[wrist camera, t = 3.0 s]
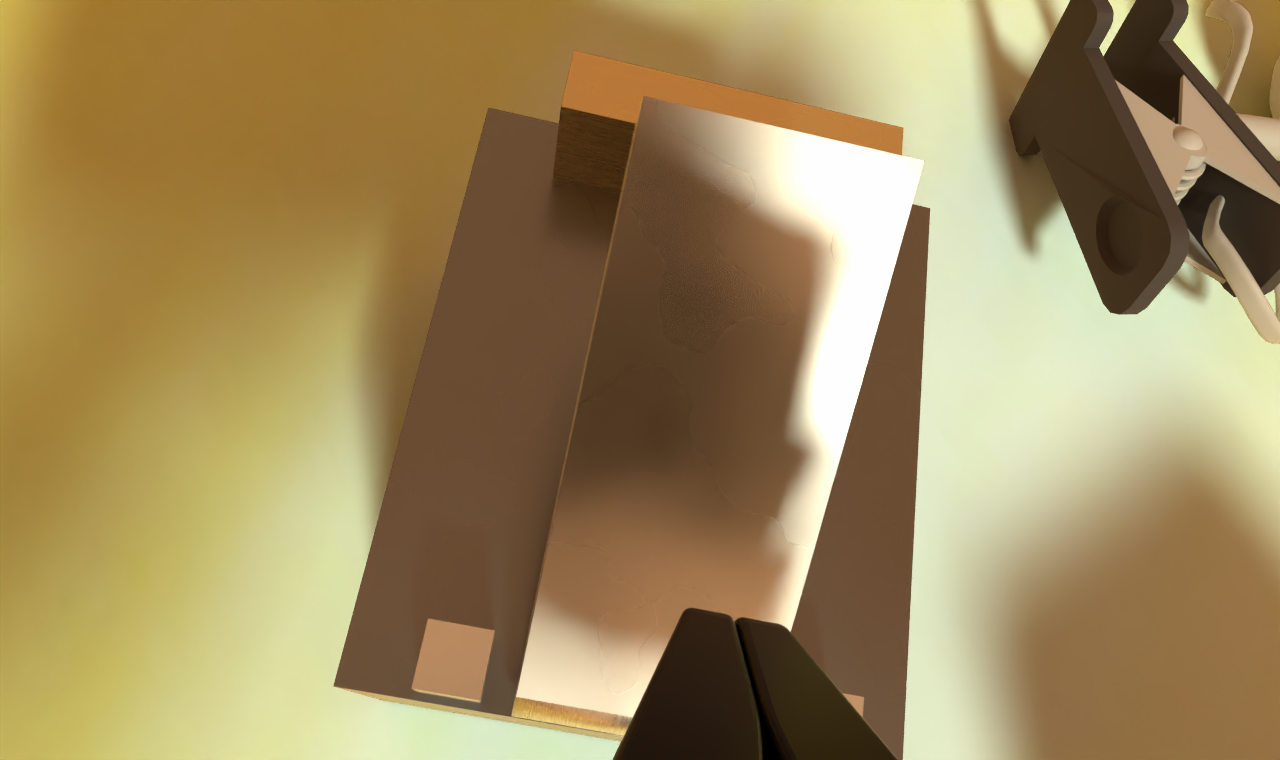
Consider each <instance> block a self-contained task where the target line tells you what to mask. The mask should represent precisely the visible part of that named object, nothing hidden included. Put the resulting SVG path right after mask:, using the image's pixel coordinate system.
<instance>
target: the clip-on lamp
mask: <svg viewBox="0 0 1280 760" xmlns="http://www.w3.org/2000/svg"><path fill="white" fill-rule="evenodd" d="M1205 14H1206V16H1207V17H1211V18H1216V19H1219V20H1221V21H1224V22H1226V24H1227V25H1228V26H1229V27H1230V28H1231V29H1232V35H1233V44H1232V48H1231V53H1230V57H1229V60H1228V62H1227V65H1226V68H1225V70H1224V73H1223V75H1222V78H1221V81H1220V83H1219V86H1218V88H1217V91H1216V90H1215V89H1214V88H1213V86H1212V85H1211V84H1210V83H1209V82H1208V81H1207V79H1206V78H1205V77H1204V76H1203V75H1202V74H1201V73H1200V71H1199V70H1198V69H1197V68H1196V67H1195V66H1194V64H1193V63H1192V62H1191V61H1190V60H1189V59H1188V58H1187V56H1186V55H1185V54H1184V53H1183V52H1182V51H1181V49H1180V48H1179V47H1178V46H1177V45H1176V44H1175V43H1174V41H1173V39H1174V38H1175V36H1176V35H1177V33H1178V32H1179V30H1180V28H1181V27H1182V25H1183V24H1184V22H1185V20H1186V18H1187V15H1188V4H1187V1H1186V0H1136V2H1135V3H1134V5H1133V7H1132V8H1131V10H1130V12H1129V14H1128V15H1127V17H1126V19H1125V21H1124V22H1123V24H1122V26H1121V27H1120V29H1119V31H1118V33H1117V34H1116V36H1115V38H1114V39H1113V41H1112V43H1111V45H1110V46H1109V48H1108V50H1107V51H1106V53H1105V55H1104V57H1103V55H1102V53H1101V51H1100V49H1099V47H1100V45H1101V43H1102V42H1103V40H1104V38H1105V36H1106V35H1107V33H1108V31H1109V29H1110V27H1111V24H1112V22H1113V9H1112V6H1111V5H1110V3H1109V1H1108V0H1070V2H1069V4H1068V6H1067V8H1066V10H1065V12H1064V14H1063V16H1062V18H1061V20H1060V22H1059V23H1058V25H1057V27H1056V29H1055V31H1054V33H1053V35H1052V37H1051V39H1050V41H1049V43H1048V45H1047V47H1046V49H1045V51H1044V53H1043V54H1042V56H1041V58H1040V60H1039V62H1038V64H1037V66H1036V68H1035V70H1034V72H1033V74H1032V76H1031V78H1030V80H1029V82H1028V84H1027V85H1026V87H1025V89H1024V91H1023V93H1022V95H1021V97H1020V99H1019V101H1018V103H1017V105H1016V107H1015V109H1014V111H1013V113H1012V115H1011V116H1010V119H1009V122H1010V126H1011V130H1012V135H1013V139H1014V143H1015V147H1016V151H1017V152H1018V153H1019V155H1034V154H1038V153H1039V151H1040V150H1041V152H1042V154H1043V157H1044V159H1045V161H1046V164H1047V166H1048V169H1049V171H1050V174H1051V176H1052V179H1053V181H1054V184H1055V186H1056V189H1057V191H1058V194H1059V196H1060V198H1061V201H1062V203H1063V206H1064V208H1065V211H1066V213H1067V216H1068V218H1069V221H1070V223H1071V226H1072V228H1073V231H1074V233H1075V235H1076V238H1077V240H1078V243H1079V245H1080V248H1081V250H1082V253H1083V255H1084V258H1085V260H1086V263H1087V265H1088V267H1089V270H1090V272H1091V275H1092V277H1093V280H1094V282H1095V285H1096V287H1097V290H1098V292H1099V295H1100V297H1101V300H1102V302H1103V304H1104V305H1105V306H1106V308H1107V309H1108V310H1109V311H1110V313H1115V314H1138V313H1139V312H1141V311H1142V310H1144V309H1145V308H1147V307H1148V305H1149V304H1150V303H1151V302H1152V301H1153V300H1154V298H1155V297H1156V296H1157V295H1158V294H1159V293H1160V291H1161V290H1162V289H1163V288H1164V287H1165V285H1166V284H1167V283H1168V282H1169V281H1170V280H1171V278H1172V277H1173V276H1174V275H1175V274H1176V273H1177V271H1178V270H1179V269H1180V268H1181V266H1182V264H1183V262H1184V261H1186V262H1187V263H1189V264H1190V265H1192V266H1194V267H1195V268H1197V269H1199V270H1200V271H1202V272H1204V273H1205V274H1207V275H1209V276H1210V277H1212V278H1214V279H1215V280H1217V281H1219V282H1220V284H1221V285H1222V286H1223V288H1224V289H1225V290H1227V291H1228V292H1229V293H1230V294H1231V295H1232V296H1233V297H1237V298H1238V300H1239V302H1240V304H1241V305H1242V307H1243V309H1244V311H1245V312H1246V314H1247V316H1248V317H1249V319H1250V321H1251V323H1252V324H1253V326H1254V327H1255V329H1256V330H1257V332H1258V333H1259V335H1260V336H1261V337H1262V338H1263V339H1264V340H1265V341H1267V342H1269V343H1272V344H1280V164H1279V162H1278V161H1280V56H1279V58H1278V59H1277V61H1276V63H1275V67H1274V70H1273V75H1272V81H1271V88H1270V94H1269V106H1270V110H1271V114H1272V117H1273V118H1270V117H1263V116H1256V115H1249V114H1241V113H1235V112H1234V111H1233V109H1232V108H1231V107H1230V106H1229V102H1230V99H1231V97H1232V94H1233V92H1234V89H1235V86H1236V84H1237V81H1238V79H1239V76H1240V73H1241V71H1242V68H1243V65H1244V62H1245V60H1246V57H1247V54H1248V51H1249V48H1250V43H1251V38H1252V34H1253V24H1252V19H1251V15H1250V13H1249V12H1248V11H1247V10H1246V9H1245V8H1244V7H1243V6H1242V5H1241V4H1239V3H1237V2H1234V1H1233V0H1213V1H1212V2H1211V4H1210V5H1209V7H1208V8H1207V10H1206V13H1205ZM1272 290H1274V291H1275V298H1276V315H1275V313H1274V311H1273V310H1272V308H1271V306H1270V304H1269V303H1268V301H1267V299H1266V298H1265V296H1264V295H1265V294H1267V293H1269V292H1271V291H1272Z"/></svg>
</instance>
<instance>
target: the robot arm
mask: <svg viewBox="0 0 1280 760" xmlns="http://www.w3.org/2000/svg"><path fill="white" fill-rule="evenodd" d="M613 760H898V759H897V757H896V756H895V755H894V754H893V753H892V751H891V750H890V749H889V748H888V747H887V745H886V744H885V743H884V742H883V741H882V740H881V738H880V737H879V736H878V735H877V734H876V732H875V731H874V730H873V729H872V728H871V727H870V725H869V724H868V723H867V722H866V721H865V719H864V718H863V717H862V716H861V715H860V714H859V712H858V711H857V710H856V709H855V708H854V706H853V705H852V704H851V703H850V702H849V701H848V699H847V698H846V697H845V696H844V695H843V693H842V692H841V691H840V690H839V689H838V688H837V686H836V685H835V684H834V683H833V682H832V680H831V679H830V678H829V677H828V676H827V674H826V673H825V672H824V671H823V670H822V669H821V667H820V666H819V665H818V664H817V663H816V661H815V660H814V659H813V658H812V657H811V656H810V654H809V653H808V652H807V651H806V650H805V648H804V647H803V646H802V645H801V644H800V643H799V641H798V640H797V639H796V638H795V637H794V635H793V634H792V633H791V632H790V631H789V630H788V629H787V628H786V627H785V626H783V625H781V624H778V623H773V622H767V621H762V620H756V619H751V618H745V617H740V618H738V619H736V620H735V621H734V619H733V618H732V617H731V616H729V615H727V614H724V613H718V612H713V611H708V610H702V609H697V608H687V609H685V610H684V611H683V613H682V615H681V617H680V619H679V621H678V623H677V625H676V627H675V629H674V631H673V633H672V635H671V638H670V640H669V642H668V644H667V646H666V648H665V650H664V652H663V654H662V657H661V659H660V661H659V663H658V665H657V667H656V669H655V671H654V673H653V676H652V678H651V680H650V682H649V684H648V686H647V688H646V690H645V692H644V695H643V697H642V699H641V701H640V703H639V705H638V707H637V709H636V711H635V714H634V716H633V718H632V720H631V722H630V724H629V726H628V728H627V730H626V733H625V735H624V737H623V739H622V741H621V743H620V745H619V747H618V749H617V752H616V754H615V756H614V758H613Z"/></svg>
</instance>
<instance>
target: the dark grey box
mask: <svg viewBox="0 0 1280 760" xmlns="http://www.w3.org/2000/svg"><path fill="white" fill-rule="evenodd" d="M643 96H647V97H651V98H655V99H660V100H664V101H668V102H673V103H677V104H681V105H686V106H690V107H694V108H698V109H703V110H707V111H711V112H716V113H720V114H724V115H729V116H733V117H737V118H742V119H746V120H750V121H754V122H759V123H763V124H767V125H772V126H776V127H780V128H785V129H789V130H793V131H798V132H802V133H806V134H810V135H815V136H819V137H823V138H828V139H832V140H836V141H841V142H845V143H849V144H854V145H858V146H862V147H866V148H871V149H875V150H879V151H884V152H888V153H892V154H897V155H901V156H902V141H903V128H902V127H898V126H894V125H889V124H885V123H881V122H876V121H872V120H868V119H864V118H859V117H855V116H851V115H847V114H842V113H838V112H834V111H830V110H825V109H821V108H817V107H813V106H808V105H804V104H800V103H796V102H791V101H787V100H783V99H779V98H774V97H770V96H766V95H762V94H757V93H753V92H749V91H744V90H740V89H736V88H732V87H727V86H723V85H719V84H715V83H710V82H706V81H702V80H698V79H693V78H689V77H685V76H681V75H676V74H672V73H668V72H664V71H659V70H655V69H651V68H647V67H642V66H638V65H634V64H629V63H625V62H621V61H617V60H612V59H608V58H604V57H600V56H595V55H591V54H587V53H583V52H578V51H574V53H573V57H572V62H571V66H570V70H569V75H568V79H567V83H566V87H565V92H564V96H563V100H562V105H561V112H560V120H559V124H558V123H553V122H549V121H544V120H540V119H536V118H531V117H527V116H522V115H518V114H514V113H509V112H505V111H500V110H496V109H492V108H488V111H487V115H486V119H485V123H484V126H483V130H482V134H481V137H480V141H479V145H478V149H477V152H476V156H475V160H474V164H473V167H472V171H471V175H470V178H469V182H468V186H467V190H466V193H465V197H464V201H463V205H462V208H461V212H460V216H459V220H458V223H457V227H456V231H455V234H454V238H453V242H452V246H451V249H450V253H449V257H448V261H447V264H446V268H445V272H444V276H443V279H442V283H441V287H440V290H439V294H438V298H437V302H436V305H435V309H434V313H433V317H432V320H431V324H430V328H429V331H428V335H427V339H426V343H425V346H424V350H423V354H422V358H421V361H420V365H419V369H418V373H417V376H416V380H415V384H414V387H413V391H412V395H411V399H410V402H409V406H408V410H407V414H406V417H405V421H404V425H403V429H402V432H401V436H400V440H399V443H398V447H397V451H396V455H395V458H394V462H393V466H392V470H391V473H390V477H389V481H388V484H387V488H386V492H385V496H384V499H383V503H382V507H381V511H380V514H379V518H378V522H377V526H376V529H375V533H374V537H373V540H372V544H371V548H370V552H369V555H368V559H367V563H366V567H365V570H364V574H363V578H362V582H361V585H360V589H359V593H358V596H357V600H356V604H355V608H354V611H353V615H352V619H351V623H350V626H349V630H348V634H347V637H346V641H345V645H344V649H343V652H342V656H341V660H340V664H339V667H338V671H337V675H336V679H335V682H334V687H338V688H341V689H345V690H348V691H352V692H355V693H359V694H362V695H366V696H369V697H373V698H376V699H380V700H384V701H390V702H395V703H401V704H407V705H413V706H419V707H424V708H430V709H436V710H442V711H448V712H453V713H459V714H465V715H471V716H477V717H482V718H488V719H494V720H500V721H506V722H511V723H517V724H523V725H529V726H535V727H540V728H546V729H552V730H558V731H564V732H570V733H575V734H581V735H587V736H593V737H599V738H604V739H610V740H616V741H622V739H623V737H624V736H623V735H617V734H612V733H606V732H600V731H594V730H589V729H583V728H577V727H571V726H565V725H560V724H554V723H548V722H542V721H536V720H531V719H525V718H519V717H513V716H512V709H513V703H514V698H515V692H516V687H517V682H518V677H519V672H520V667H521V662H522V657H523V652H524V648H525V643H526V638H527V634H528V629H529V624H530V619H531V615H532V610H533V605H534V600H535V596H536V591H537V586H538V581H539V577H540V572H541V567H542V563H543V558H544V553H545V548H546V544H547V539H548V534H549V529H550V525H551V520H552V515H553V511H554V506H555V501H556V496H557V492H558V487H559V482H560V477H561V473H562V468H563V463H564V459H565V454H566V449H567V444H568V440H569V435H570V430H571V425H572V421H573V416H574V411H575V406H576V402H577V397H578V392H579V388H580V383H581V378H582V373H583V369H584V364H585V359H586V354H587V350H588V345H589V340H590V336H591V331H592V326H593V321H594V317H595V312H596V307H597V302H598V298H599V293H600V288H601V284H602V279H603V274H604V269H605V265H606V260H607V255H608V250H609V246H610V241H611V236H612V231H613V227H614V222H615V217H616V213H617V208H618V203H619V198H620V194H621V189H622V184H623V179H624V175H625V170H626V165H627V161H628V156H629V151H630V146H631V142H632V137H633V132H634V127H635V123H636V118H637V113H638V109H639V104H640V100H641V99H642V97H643ZM929 219H930V208H926V207H922V206H917V205H913V204H912V206H911V210H910V213H909V217H908V221H907V224H906V228H905V231H904V235H903V238H902V242H901V245H900V249H899V252H898V256H897V259H896V263H895V266H894V270H893V273H892V277H891V280H890V284H889V287H888V291H887V294H886V298H885V302H884V305H883V309H882V312H881V316H880V319H879V323H878V326H877V330H876V333H875V337H874V340H873V344H872V347H871V351H870V354H869V358H868V361H867V365H866V368H865V372H864V375H863V379H862V383H861V386H860V390H859V393H858V397H857V400H856V404H855V407H854V411H853V414H852V418H851V421H850V425H849V428H848V432H847V435H846V439H845V442H844V446H843V449H842V453H841V456H840V460H839V464H838V467H837V471H836V474H835V478H834V481H833V485H832V488H831V492H830V495H829V499H828V502H827V506H826V509H825V513H824V516H823V520H822V523H821V527H820V530H819V534H818V538H817V541H816V545H815V548H814V552H813V555H812V559H811V562H810V566H809V569H808V573H807V576H806V580H805V583H804V587H803V590H802V594H801V597H800V601H799V604H798V608H797V611H796V615H795V619H794V622H793V626H792V629H791V633H792V634H793V635H794V637H795V638H796V639H797V640H798V641H799V643H800V644H801V645H802V646H803V647H804V648H805V650H806V651H807V652H808V653H809V654H810V656H811V657H812V658H813V659H814V660H815V661H816V663H817V664H818V665H819V666H820V667H821V669H822V670H823V671H824V672H825V673H826V674H827V676H828V677H829V678H830V679H831V680H832V682H833V683H834V684H835V685H836V686H837V688H838V689H839V690H840V691H841V692H842V693H843V695H844V696H845V697H846V698H847V699H848V701H849V702H850V703H851V704H852V705H853V706H854V708H855V709H856V710H857V711H858V712H859V714H860V715H861V716H862V717H863V718H864V719H865V721H866V722H867V723H868V724H869V725H870V727H871V728H872V729H873V730H874V731H875V732H876V734H877V735H878V736H879V737H880V738H881V740H882V741H883V742H884V743H885V744H886V745H887V747H888V748H889V749H890V750H891V751H892V753H893V754H894V755H895V756H896V757H897V759H898V760H903V741H904V721H905V701H906V681H907V660H908V640H909V620H910V600H911V580H912V560H913V540H914V520H915V500H916V480H917V460H918V440H919V419H920V399H921V379H922V359H923V339H924V319H925V299H926V279H927V259H928V239H929Z"/></svg>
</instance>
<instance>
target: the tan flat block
mask: <svg viewBox="0 0 1280 760" xmlns="http://www.w3.org/2000/svg"><path fill="white" fill-rule="evenodd" d="M923 164H924V161H922V160H918V159H914V158H910V157H905V156H901V155H897V154H892V153H888V152H884V151H879V150H875V149H871V148H866V147H862V146H858V145H854V144H849V143H845V142H841V141H836V140H832V139H828V138H823V137H819V136H815V135H810V134H806V133H802V132H798V131H793V130H789V129H785V128H780V127H776V126H772V125H767V124H763V123H759V122H754V121H750V120H746V119H742V118H737V117H733V116H729V115H724V114H720V113H716V112H711V111H707V110H703V109H698V108H694V107H690V106H686V105H681V104H677V103H673V102H668V101H664V100H660V99H655V98H651V97H647V96H643V97H642V99H641V100H640V104H639V109H638V113H637V118H636V123H635V127H634V132H633V137H632V142H631V146H630V151H629V156H628V161H627V165H626V170H625V175H624V179H623V184H622V189H621V194H620V198H619V203H618V208H617V213H616V217H615V222H614V227H613V231H612V236H611V241H610V246H609V250H608V255H607V260H606V265H605V269H604V274H603V279H602V284H601V288H600V293H599V298H598V302H597V307H596V312H595V317H594V321H593V326H592V331H591V336H590V340H589V345H588V350H587V354H586V359H585V364H584V369H583V373H582V378H581V383H580V388H579V392H578V397H577V402H576V406H575V411H574V416H573V421H572V425H571V430H570V435H569V440H568V444H567V449H566V454H565V459H564V463H563V468H562V473H561V477H560V482H559V487H558V492H557V496H556V501H555V506H554V511H553V515H552V520H551V525H550V529H549V534H548V539H547V544H546V548H545V553H544V558H543V563H542V567H541V572H540V577H539V581H538V586H537V591H536V596H535V600H534V605H533V610H532V615H531V619H530V624H529V629H528V634H527V638H526V643H525V648H524V652H523V657H522V662H521V667H520V672H519V677H518V682H517V687H516V692H515V698H514V703H513V709H512V716H513V717H519V718H525V719H531V720H536V721H542V722H548V723H554V724H560V725H565V726H571V727H577V728H583V729H589V730H594V731H600V732H606V733H612V734H617V735H623V736H624V735H625V733H626V730H627V728H628V726H629V724H630V722H631V720H632V718H633V716H634V714H635V711H636V709H637V707H638V705H639V703H640V701H641V699H642V697H643V695H644V692H645V690H646V688H647V686H648V684H649V682H650V680H651V678H652V676H653V673H654V671H655V669H656V667H657V665H658V663H659V661H660V659H661V657H662V654H663V652H664V650H665V648H666V646H667V644H668V642H669V640H670V638H671V635H672V633H673V631H674V629H675V627H676V625H677V623H678V621H679V619H680V617H681V615H682V613H683V611H684V610H685V609H687V608H697V609H702V610H708V611H713V612H718V613H724V614H727V615H729V616H731V617H732V618H733V619H734V621H735V620H736V619H738V618H740V617H745V618H751V619H756V620H762V621H767V622H773V623H778V624H781V625H783V626H785V627H786V628H787V629H788V630H789V631H790V632H791V629H792V626H793V622H794V619H795V615H796V611H797V608H798V604H799V601H800V597H801V594H802V590H803V587H804V583H805V580H806V576H807V573H808V569H809V566H810V562H811V559H812V555H813V552H814V548H815V545H816V541H817V538H818V534H819V530H820V527H821V523H822V520H823V516H824V513H825V509H826V506H827V502H828V499H829V495H830V492H831V488H832V485H833V481H834V478H835V474H836V471H837V467H838V464H839V460H840V456H841V453H842V449H843V446H844V442H845V439H846V435H847V432H848V428H849V425H850V421H851V418H852V414H853V411H854V407H855V404H856V400H857V397H858V393H859V390H860V386H861V383H862V379H863V375H864V372H865V368H866V365H867V361H868V358H869V354H870V351H871V347H872V344H873V340H874V337H875V333H876V330H877V326H878V323H879V319H880V316H881V312H882V309H883V305H884V302H885V298H886V294H887V291H888V287H889V284H890V280H891V277H892V273H893V270H894V266H895V263H896V259H897V256H898V252H899V249H900V245H901V242H902V238H903V235H904V231H905V228H906V224H907V221H908V217H909V213H910V210H911V206H912V203H913V199H914V196H915V192H916V189H917V185H918V182H919V178H920V175H921V171H922V168H923Z"/></svg>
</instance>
